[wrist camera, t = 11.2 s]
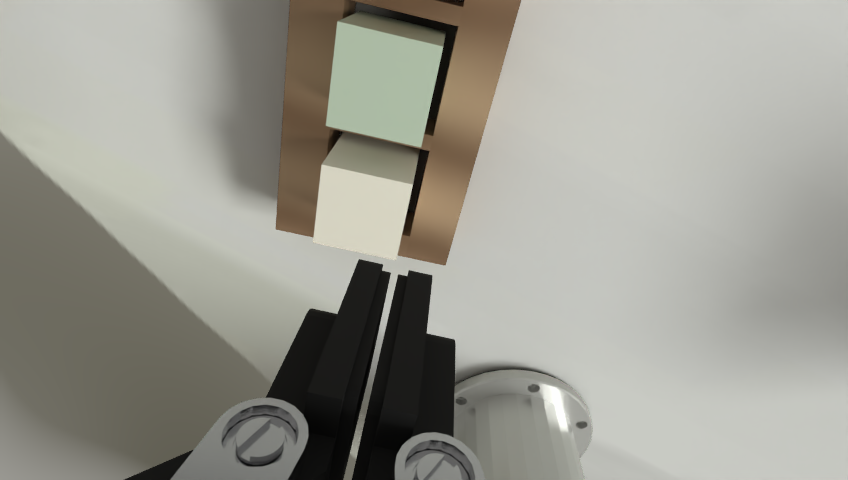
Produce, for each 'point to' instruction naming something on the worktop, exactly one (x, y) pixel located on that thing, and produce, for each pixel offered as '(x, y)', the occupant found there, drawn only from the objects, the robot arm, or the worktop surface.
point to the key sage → (383, 77)
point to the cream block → (365, 195)
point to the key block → (443, 139)
